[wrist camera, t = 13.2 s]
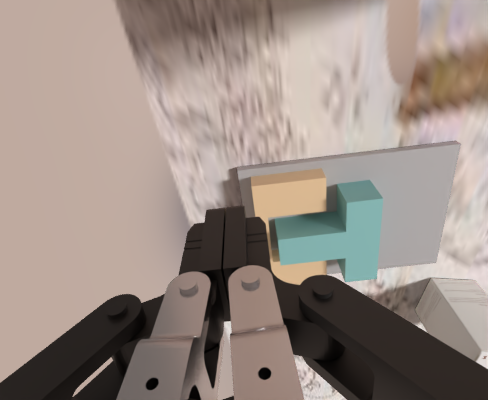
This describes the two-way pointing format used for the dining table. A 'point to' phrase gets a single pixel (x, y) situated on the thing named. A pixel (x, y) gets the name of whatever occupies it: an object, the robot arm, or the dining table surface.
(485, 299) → the supplement box
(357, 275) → the tee block
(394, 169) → the slot board
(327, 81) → the dining table surface
